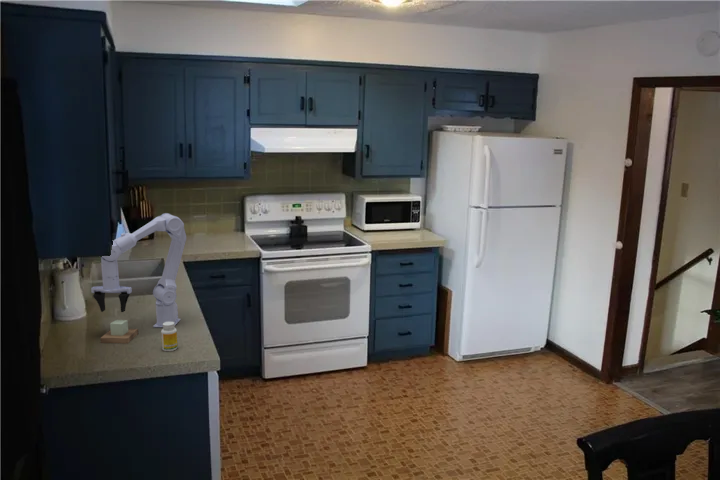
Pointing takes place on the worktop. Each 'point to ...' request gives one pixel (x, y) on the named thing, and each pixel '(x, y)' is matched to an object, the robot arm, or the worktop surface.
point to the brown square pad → (119, 337)
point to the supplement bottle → (169, 336)
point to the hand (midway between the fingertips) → (113, 311)
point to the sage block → (119, 327)
